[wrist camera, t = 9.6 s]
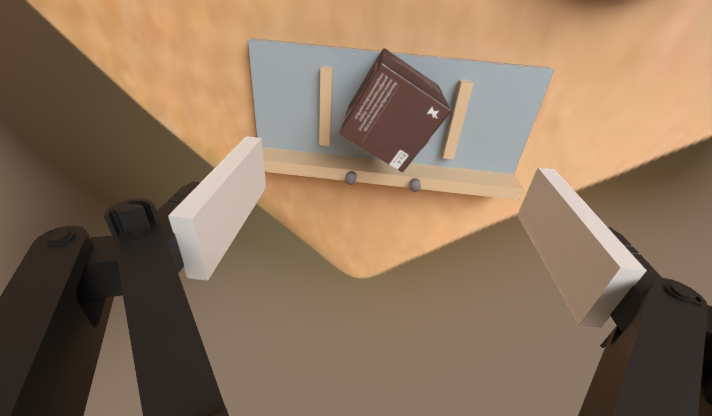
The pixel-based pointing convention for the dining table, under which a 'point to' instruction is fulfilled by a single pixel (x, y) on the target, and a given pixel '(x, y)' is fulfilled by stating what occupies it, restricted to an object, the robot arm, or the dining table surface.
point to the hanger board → (446, 146)
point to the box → (394, 111)
